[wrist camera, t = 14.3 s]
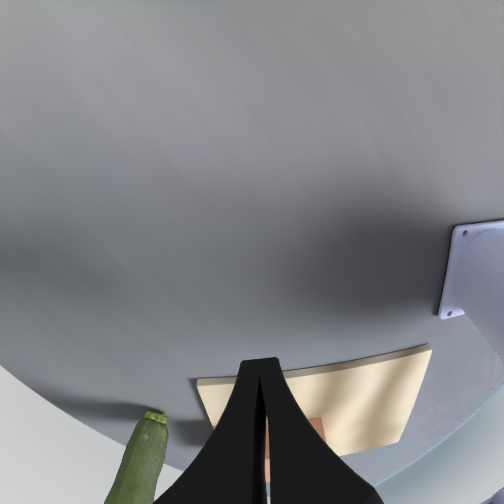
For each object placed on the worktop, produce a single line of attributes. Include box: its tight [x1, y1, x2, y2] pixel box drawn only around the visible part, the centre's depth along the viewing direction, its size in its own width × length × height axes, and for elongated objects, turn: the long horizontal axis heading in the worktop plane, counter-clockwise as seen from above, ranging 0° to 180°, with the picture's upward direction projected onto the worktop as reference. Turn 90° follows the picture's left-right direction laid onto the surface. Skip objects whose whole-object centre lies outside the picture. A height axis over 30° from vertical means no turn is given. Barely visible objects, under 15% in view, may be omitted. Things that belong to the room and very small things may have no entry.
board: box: [197, 344, 432, 456], centre depth 26 cm, size 20×16×3 cm
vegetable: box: [104, 411, 168, 504], centre depth 18 cm, size 4×4×20 cm
